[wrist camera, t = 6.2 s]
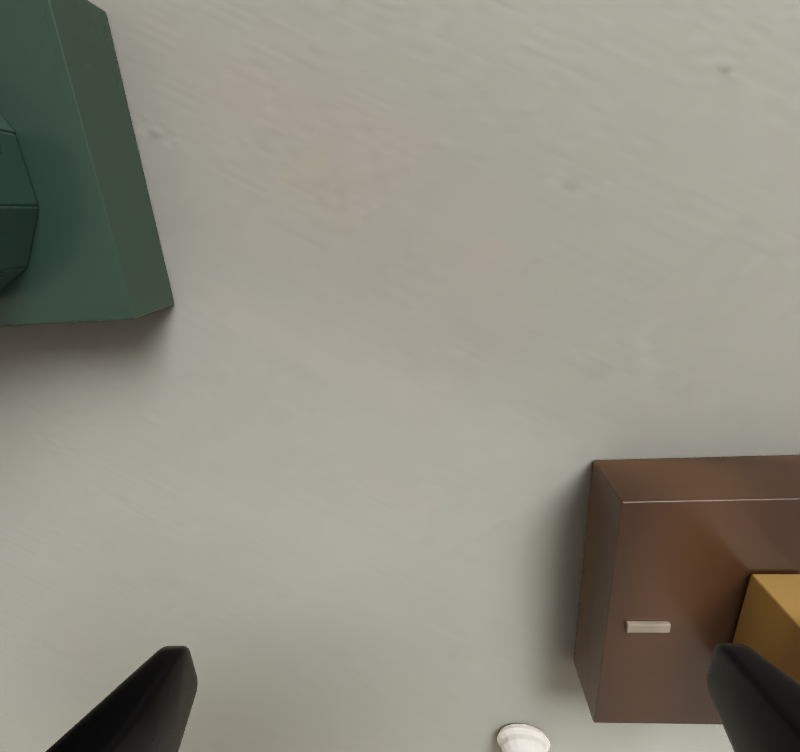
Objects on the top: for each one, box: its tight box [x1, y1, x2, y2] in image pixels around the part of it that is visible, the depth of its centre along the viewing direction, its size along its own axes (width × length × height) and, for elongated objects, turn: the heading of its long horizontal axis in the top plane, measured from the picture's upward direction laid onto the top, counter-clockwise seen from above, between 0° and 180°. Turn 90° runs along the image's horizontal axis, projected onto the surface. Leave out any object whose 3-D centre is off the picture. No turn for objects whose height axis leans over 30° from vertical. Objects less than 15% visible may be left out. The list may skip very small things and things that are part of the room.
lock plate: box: [574, 455, 800, 724], centre depth 16 cm, size 10×10×3 cm
